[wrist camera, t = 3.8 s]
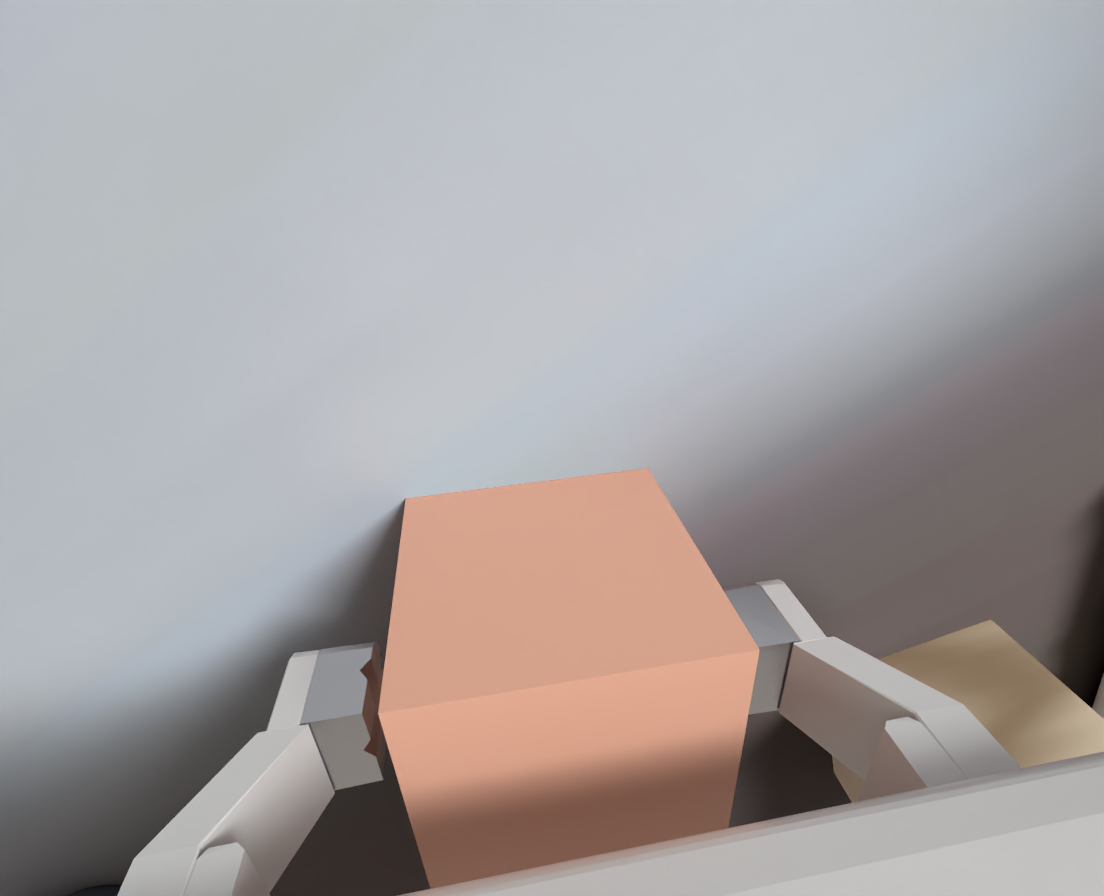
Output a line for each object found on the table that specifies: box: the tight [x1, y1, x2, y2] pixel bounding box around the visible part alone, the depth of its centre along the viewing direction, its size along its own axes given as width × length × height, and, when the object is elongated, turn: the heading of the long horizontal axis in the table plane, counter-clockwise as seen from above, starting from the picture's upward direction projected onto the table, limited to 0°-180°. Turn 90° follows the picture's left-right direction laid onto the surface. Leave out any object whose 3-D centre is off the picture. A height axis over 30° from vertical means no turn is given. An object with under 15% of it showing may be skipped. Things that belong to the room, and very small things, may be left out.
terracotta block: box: [378, 468, 760, 889], centre depth 11 cm, size 5×5×5 cm
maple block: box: [832, 620, 1104, 803], centre depth 15 cm, size 5×5×5 cm
